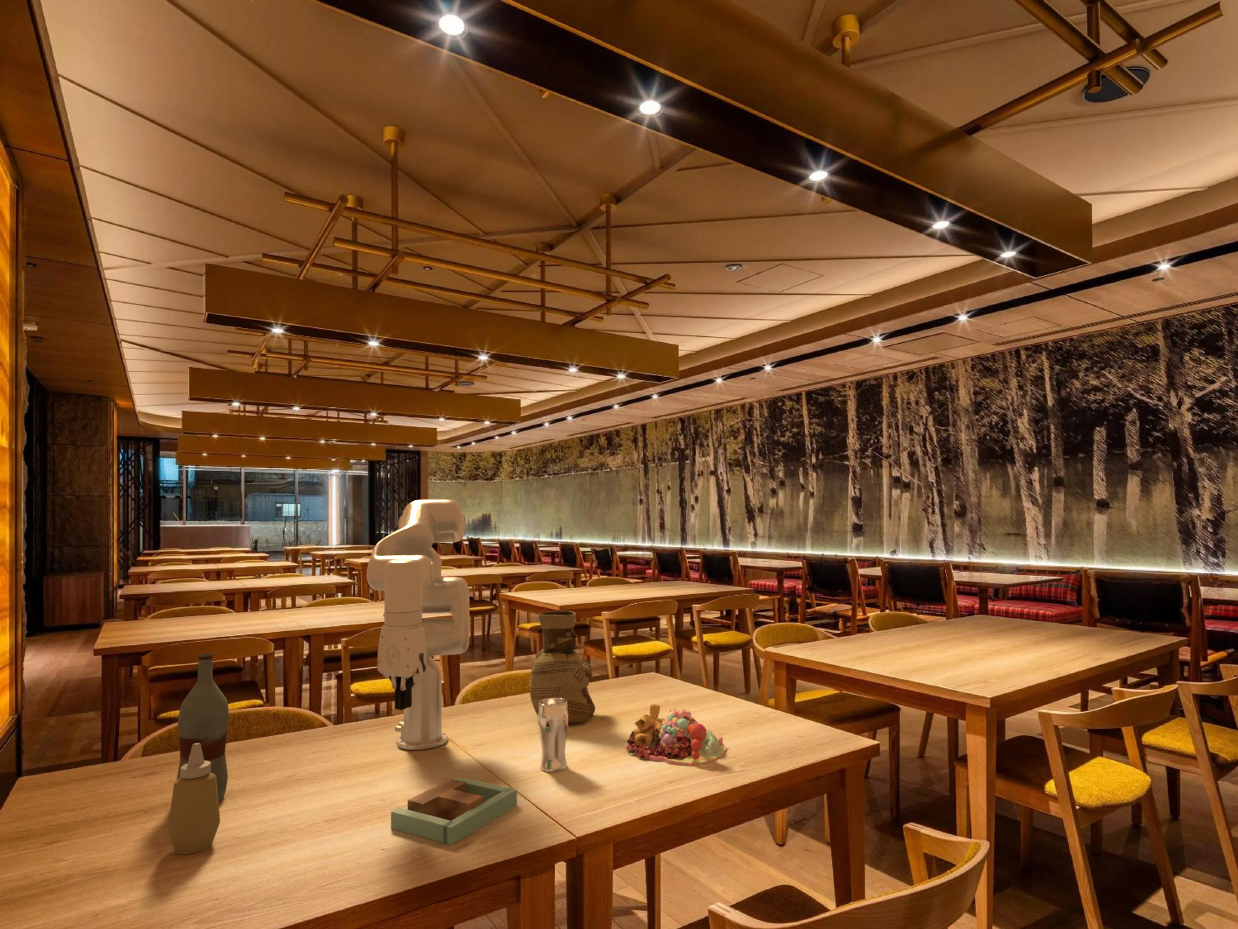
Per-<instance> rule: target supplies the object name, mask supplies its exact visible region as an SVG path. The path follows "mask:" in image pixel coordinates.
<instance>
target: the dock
mask: <svg viewBox="0 0 1238 929" xmlns="http://www.w3.org/2000/svg"><path fill="white" fill-rule="evenodd" d="M455 780H458V781H463V782H466V792H467V793H472V794H476V795H480V796H484V802H483V803H481V804H480V805H478V806H476V807H474V808H473V809H471V810H469V811H467V812H466V813H464V814H462V815H460V816H459V817H457V818H455V819H453V820H452V821H449V820H445V819H442V818H438V817H434V816H430V815H426V814H422V813H418V812H414V811H410V810H408V808H407V809H406V808H403V807H397V808H395V809H393V810H391V811H390V829H394V830H397V831H400V832H404V833H407V834H411V835H414V836H417V837H422V838H425V839H428V840H432V841H436V842H438V843H442V844H446V845H450V846H453V845H454V844H456V843H458V842H459V841H461V840H462V839H464V838H465V837H467V836H469V835H471V834H472V833H473V832H475V831H477V830H479V829H480V828H481V827H484V826H486V825H487V824H489V823H490V822H491V821H493V820H495V819H496V818H498V817H500V816H502V815H503V814H505V813H506V812H508V811H509V810H511V809H513V808H515V807H516V806H518V789H517V788H511V787H507V786H502V785H497V784H494V783H488V782H484V781H479V780H476V779H475V780H474V779H470V778H464V777H461V776H459V777H458V778H456V779H455Z"/></svg>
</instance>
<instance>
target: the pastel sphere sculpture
mask: <svg viewBox="0 0 1238 929" xmlns="http://www.w3.org/2000/svg"><path fill="white" fill-rule="evenodd" d="M660 709H661V707H660V704H657V703H653V704H650V705H649V714H647V713H646V714H644V715H643V716H640V717H639V718H637V719H636V721H635V722H634V725H635V726H636V727H637V728H634V729H633V730H632V731H631V733H630V735H629V737H628V739H627V742H626V743H627V744H626V745H625V749H626V750H629V751H628V754H633V753H637V754H636V757H635V758H639V759H645V760H652V761H655V762H656V761H659V762H660V761H663V762H665V763H667V764H668V765H669V764H671V765H675V766H676V765H677V766H687V767H697V766H702V765H707V764H710V763H713V762H715V761H717V760H719V759H720V758H722V756H725V754H726V751H727V747H726V746H725V744H724V743H723V741H724V739H723V736H720V737H719V738H717V737H716V735H715V734H714V733H713V732H712V730H709V729H707V728H706V727H705V726H704V725H703V724H702V723H698V722H699V721H697V720H696V718H694V717H693V716H692V712H691V711H689V710H687V711H686V709H685V708H680V709H676V708H675V709H674V710H672V711H671V709H670V708H669V709H670V710H669V712H668V713H667V715H666V716H667V717H666V718H664V717H663V718H659V714H660V711H661V710H660Z"/></svg>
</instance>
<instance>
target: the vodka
mask: <svg viewBox="0 0 1238 929" xmlns="http://www.w3.org/2000/svg"><path fill="white" fill-rule="evenodd" d="M197 657H198V661H197V662H198V664H197V681H196V683H195V684H194V686H193V687H192V688H191V690H190V691H189V693H188V694H187V695H186V697H185V698H184V700H183V701H182V703H181V705H180V709H179V714H178V718H177V730H178V744H179V745H178V746H179V760H180V761H179V764H178V770H177V774H176V781H177V780H178V779H179V778H181V776H180V771H181V767H182V766H183V765H185V764H188V761H189V757H190V753H191V749H192V745H193V744H195V743H200V745H201V749H202V754H203V758H204V761H210V763H211V771H210V773H213V774H215V775H216V779H217V790H218V802H220V801H221V800H223V799H224V798H225V794H226V791H227V786H228V778H229V771H228V764H227V758H226V747H227V739H228V738H227V735H228V730H229V729H228V728H229V721H230V710H229V703H228V699H227V697H226V696H225V694H224V693H223V691H221V689H220V688H219V686H218V685H217V683H216V682H215V681H214V679H213V674H214V673H213V660H214V659H213V657H214V654H213V653H212V652H211V653H210V652H209V653H207V652H206V653H201V654H198V656H197ZM176 781H175V782H176Z"/></svg>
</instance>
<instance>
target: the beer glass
mask: <svg viewBox="0 0 1238 929" xmlns="http://www.w3.org/2000/svg"><path fill="white" fill-rule="evenodd" d="M537 722H538V724H537V725H538V726H537V727H538V733H539V739H540V744H541V745H540V746H541V761H540V770H541V771H542V772H546V773H558V772H562V771H565V770H566V769H567V767H568V764H567V758H566V743H567V736H568V729H569V725H568V707H567V700H566V699H563V698H546V699H543V700H540V701H539V712H538V715H537Z"/></svg>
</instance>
